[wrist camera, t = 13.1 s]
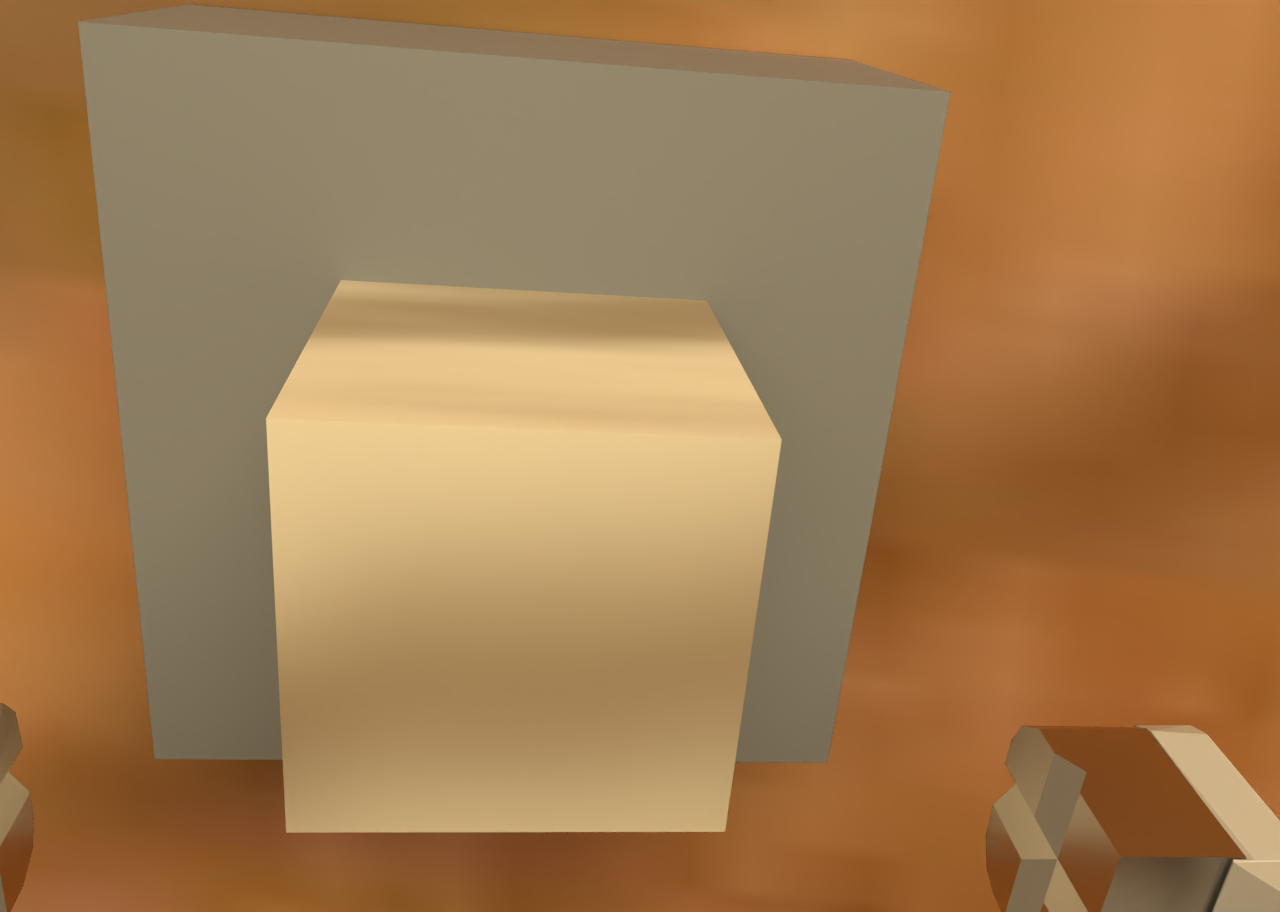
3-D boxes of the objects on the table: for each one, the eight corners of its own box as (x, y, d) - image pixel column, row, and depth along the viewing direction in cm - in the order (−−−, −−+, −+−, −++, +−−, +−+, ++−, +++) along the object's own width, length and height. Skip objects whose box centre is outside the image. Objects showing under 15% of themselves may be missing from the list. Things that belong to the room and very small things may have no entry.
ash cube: (340, 280, 15) (266, 417, 11) (706, 300, 16) (782, 439, 11) (347, 601, 17) (285, 832, 13) (672, 608, 18) (725, 831, 13)
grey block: (187, 4, 18) (78, 22, 14) (850, 60, 20) (950, 92, 15) (227, 597, 23) (154, 758, 18) (768, 609, 24) (827, 762, 19)
